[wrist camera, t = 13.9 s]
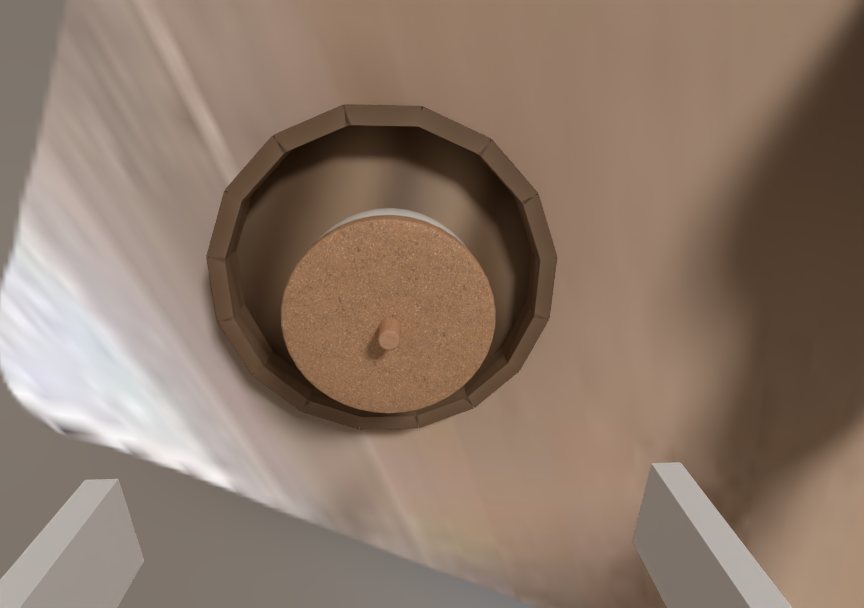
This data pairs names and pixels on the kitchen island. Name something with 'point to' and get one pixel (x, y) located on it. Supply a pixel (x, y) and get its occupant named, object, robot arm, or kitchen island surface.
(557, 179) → the kitchen island surface
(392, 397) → the lidded jar
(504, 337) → the walnut tray
